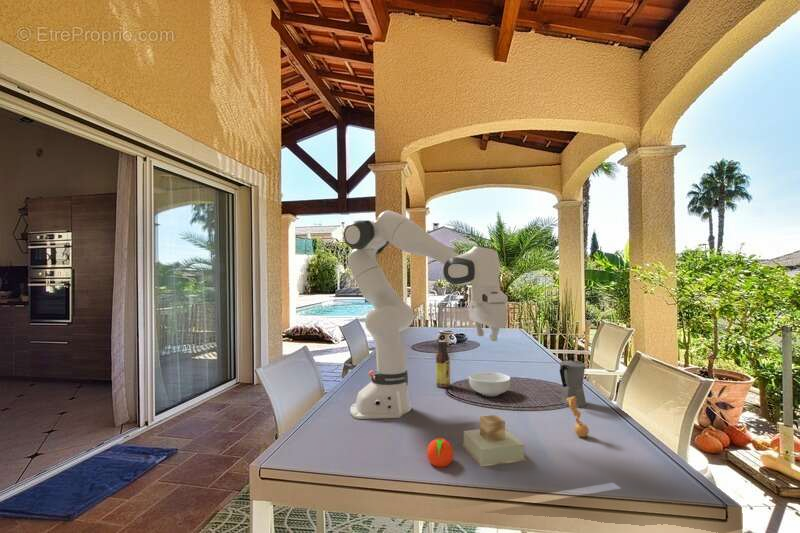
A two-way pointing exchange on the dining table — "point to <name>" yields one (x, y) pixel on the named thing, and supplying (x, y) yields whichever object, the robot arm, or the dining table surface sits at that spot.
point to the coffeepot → (572, 381)
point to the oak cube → (492, 428)
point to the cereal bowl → (489, 383)
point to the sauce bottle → (442, 365)
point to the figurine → (580, 427)
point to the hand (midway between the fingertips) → (486, 338)
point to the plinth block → (493, 448)
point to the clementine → (440, 452)
